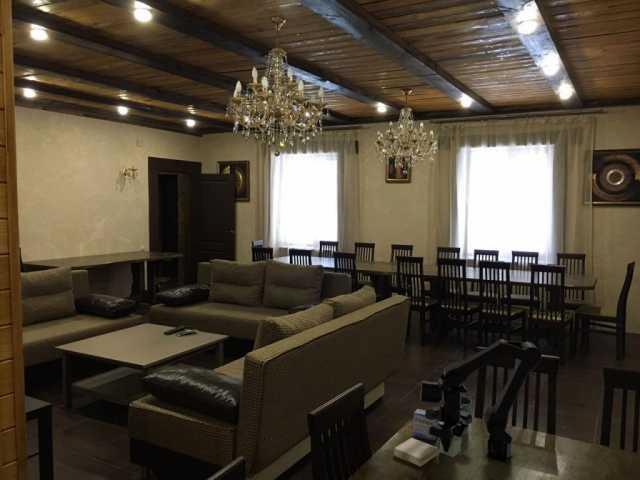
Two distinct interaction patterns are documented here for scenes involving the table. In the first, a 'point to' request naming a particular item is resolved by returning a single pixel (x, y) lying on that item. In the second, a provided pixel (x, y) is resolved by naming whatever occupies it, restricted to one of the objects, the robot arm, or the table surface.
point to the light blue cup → (465, 410)
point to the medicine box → (423, 425)
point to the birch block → (415, 451)
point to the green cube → (452, 447)
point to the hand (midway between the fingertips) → (450, 448)
